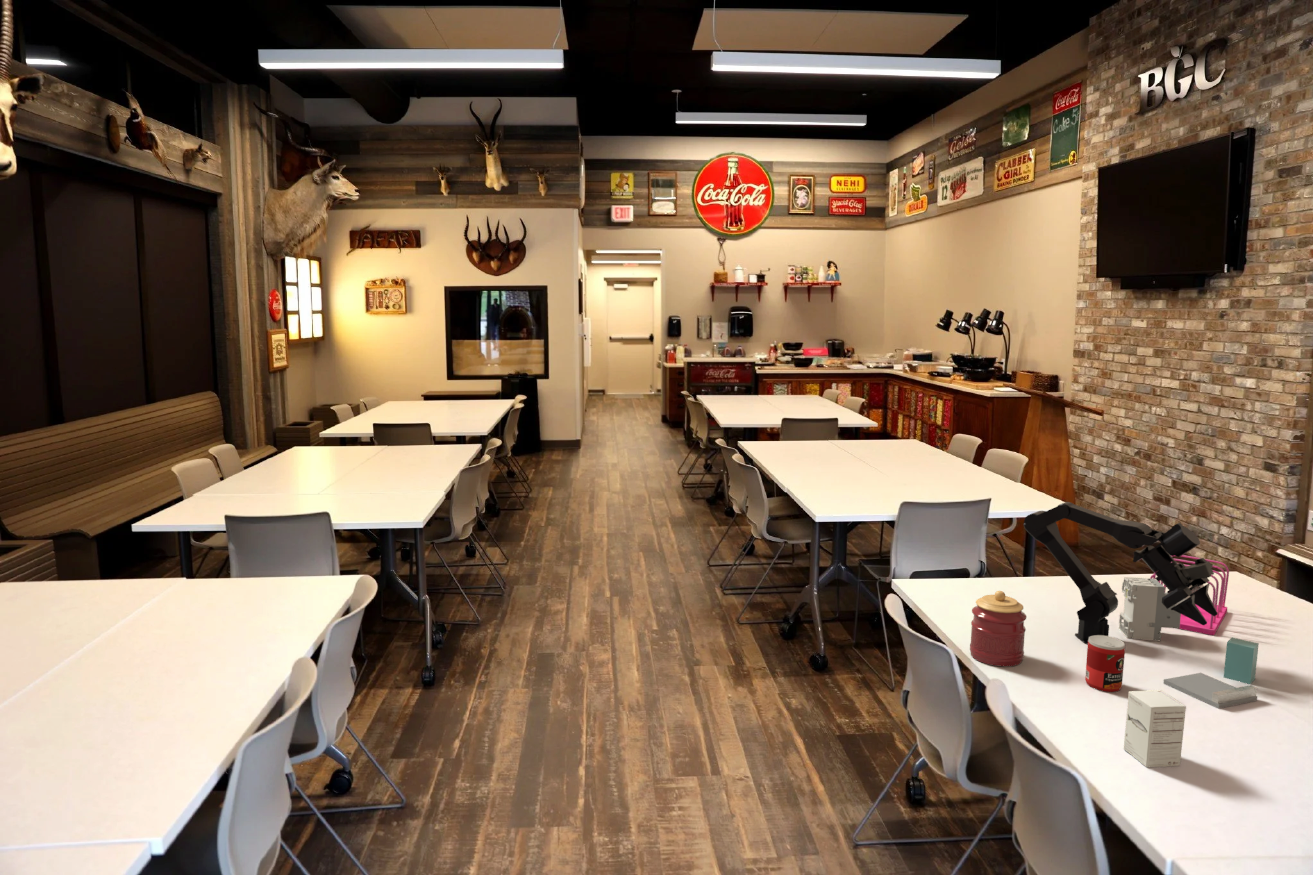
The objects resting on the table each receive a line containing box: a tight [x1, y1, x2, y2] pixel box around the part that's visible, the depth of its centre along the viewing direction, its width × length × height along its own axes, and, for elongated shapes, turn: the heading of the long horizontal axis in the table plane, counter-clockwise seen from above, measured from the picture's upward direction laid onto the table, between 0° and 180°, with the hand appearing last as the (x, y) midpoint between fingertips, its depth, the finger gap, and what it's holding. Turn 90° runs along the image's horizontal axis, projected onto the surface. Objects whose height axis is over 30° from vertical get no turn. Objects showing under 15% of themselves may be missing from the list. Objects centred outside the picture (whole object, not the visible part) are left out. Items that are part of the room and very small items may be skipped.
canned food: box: [1084, 635, 1126, 693], centre depth 204 cm, size 8×8×11 cm
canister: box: [969, 590, 1027, 667], centre depth 220 cm, size 13×13×18 cm
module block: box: [1223, 637, 1259, 685], centre depth 209 cm, size 6×4×9 cm
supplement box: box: [1123, 689, 1187, 768], centre depth 171 cm, size 7×7×13 cm
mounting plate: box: [1163, 672, 1258, 709], centre depth 201 cm, size 14×12×3 cm
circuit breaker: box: [1118, 576, 1181, 641], centre depth 236 cm, size 8×14×15 cm, turn 78°
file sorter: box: [1149, 554, 1230, 636], centre depth 251 cm, size 17×25×16 cm
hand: (1210, 619), depth 213 cm, fingers open, 9 cm apart
